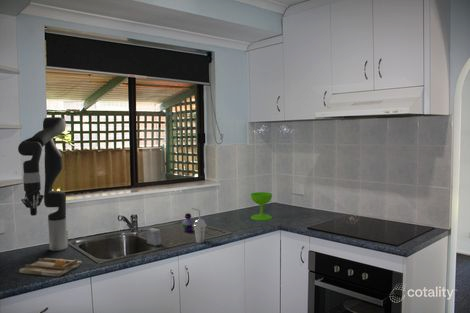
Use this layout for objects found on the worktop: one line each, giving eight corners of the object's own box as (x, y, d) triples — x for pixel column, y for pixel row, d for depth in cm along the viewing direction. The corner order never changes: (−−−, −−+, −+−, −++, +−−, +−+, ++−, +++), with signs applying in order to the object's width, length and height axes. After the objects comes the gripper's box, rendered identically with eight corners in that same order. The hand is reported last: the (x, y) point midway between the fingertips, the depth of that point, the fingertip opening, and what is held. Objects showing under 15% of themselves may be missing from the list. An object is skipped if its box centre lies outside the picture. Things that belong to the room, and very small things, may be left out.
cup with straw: (197, 244, 228) (196, 210, 226) (189, 241, 235) (189, 208, 233) (209, 242, 233) (209, 208, 231) (201, 238, 240) (201, 206, 238)
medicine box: (161, 244, 229) (160, 229, 229) (154, 246, 226) (154, 231, 226) (153, 241, 235) (152, 227, 234) (146, 243, 231) (146, 229, 231)
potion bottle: (180, 233, 253) (179, 214, 252) (183, 229, 262) (183, 212, 261) (193, 233, 252) (192, 215, 251) (196, 229, 261) (195, 212, 260)
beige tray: (45, 260, 203) (44, 254, 203) (81, 264, 197) (81, 257, 197) (19, 272, 186) (19, 265, 186) (58, 276, 181) (58, 269, 181)
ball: (69, 260, 192) (65, 269, 193) (61, 255, 193) (57, 264, 194) (62, 264, 187) (58, 272, 188) (54, 258, 188) (50, 267, 189)
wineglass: (261, 214, 304) (261, 191, 303) (276, 217, 292) (276, 194, 291) (246, 217, 294) (246, 194, 293) (261, 221, 282) (260, 196, 281)
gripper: (35, 179, 203) (37, 212, 204) (15, 183, 190) (17, 217, 192) (47, 179, 201) (49, 212, 203) (28, 183, 188) (30, 218, 190)
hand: (33, 215), depth 197 cm, fingers closed
